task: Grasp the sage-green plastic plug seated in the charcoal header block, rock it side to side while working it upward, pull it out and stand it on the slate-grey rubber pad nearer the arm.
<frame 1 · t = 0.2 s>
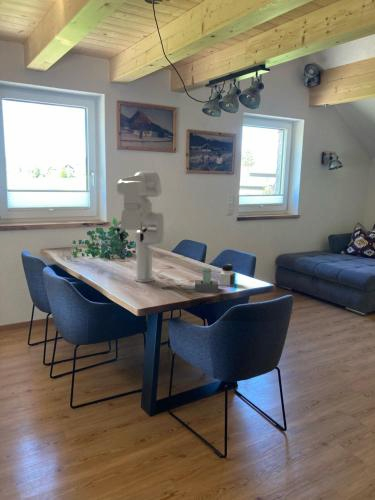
hand: (131, 241, 198), 31 cm above the table, fingers open, 9 cm apart
pad: (189, 287, 230), on the table
medicine bottle: (226, 284, 239), on the table
header: (206, 289, 226), on the table
plug: (206, 279, 225), in the header
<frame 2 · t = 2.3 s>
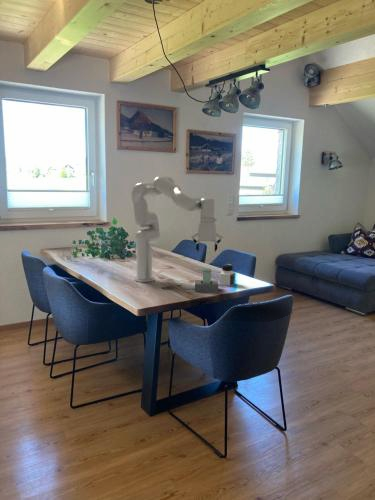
hand: (206, 251, 222), 23 cm above the table, fingers open, 9 cm apart
nothing on the table moved.
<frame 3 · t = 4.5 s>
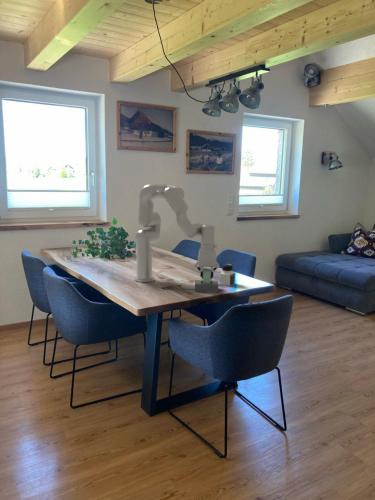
hand: (206, 278, 225), 7 cm above the table, fingers closed on plug, 4 cm apart
plug: (206, 279, 225), in the header, touching gripper
everything else where it was.
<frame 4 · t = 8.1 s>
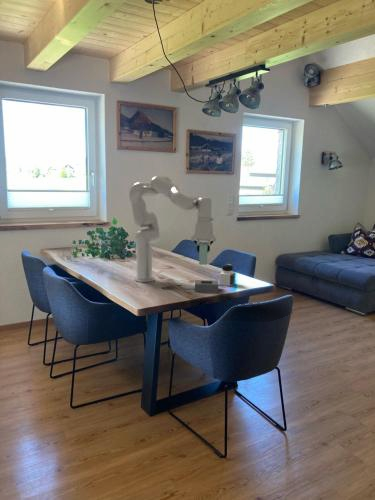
hand: (203, 251, 223), 22 cm above the table, fingers closed on plug, 4 cm apart
plug: (203, 253, 223), point 21 cm above the table, touching gripper
everything else where it was.
when the fingers open (8 cm above the table, at t = 11.6 s): plug drops 1 cm, resting on pad.
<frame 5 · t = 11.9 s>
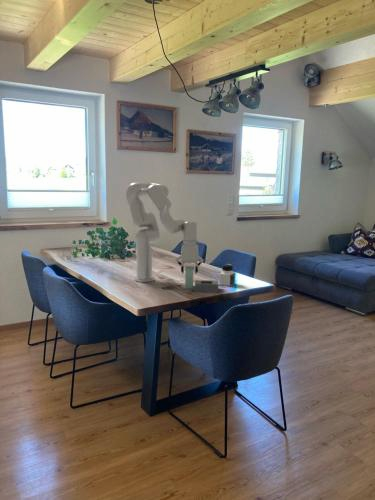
hand: (189, 273, 229), 9 cm above the table, fingers open, 7 cm apart
plug: (189, 276, 229), on the pad
everything else where it was.
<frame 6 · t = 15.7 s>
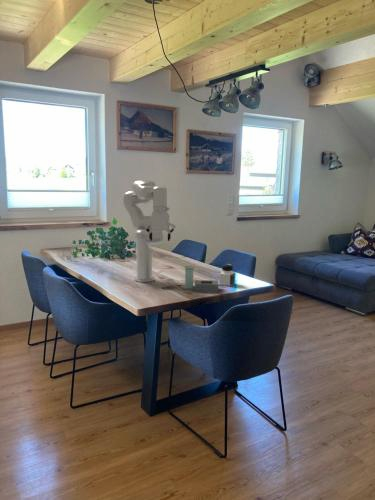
hand: (159, 240, 220), 28 cm above the table, fingers open, 9 cm apart
nothing on the table moved.
at the end: plug inside the target area on the pad (0.0 cm from its centre), point 6.4 cm above the pad's base; plug tilted 0°; plug touching pad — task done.
